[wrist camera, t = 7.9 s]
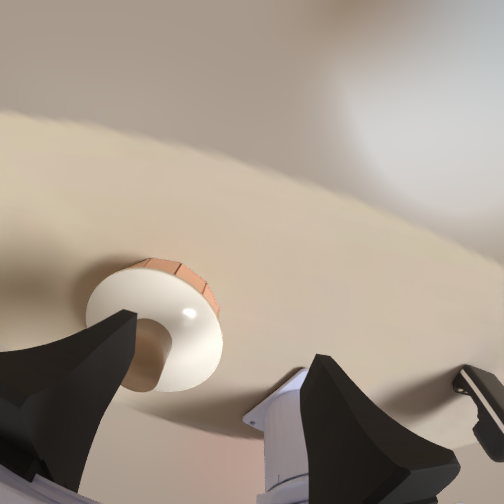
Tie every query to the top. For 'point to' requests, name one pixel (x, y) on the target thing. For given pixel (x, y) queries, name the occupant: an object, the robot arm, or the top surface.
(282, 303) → the top surface
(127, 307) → the lid
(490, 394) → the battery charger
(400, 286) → the top surface
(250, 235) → the top surface
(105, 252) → the top surface
